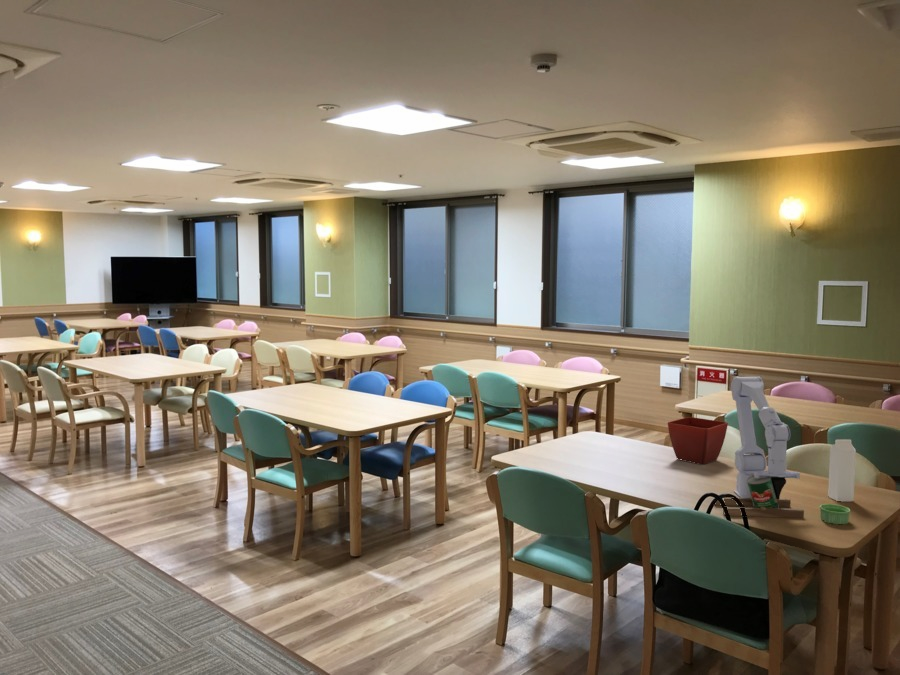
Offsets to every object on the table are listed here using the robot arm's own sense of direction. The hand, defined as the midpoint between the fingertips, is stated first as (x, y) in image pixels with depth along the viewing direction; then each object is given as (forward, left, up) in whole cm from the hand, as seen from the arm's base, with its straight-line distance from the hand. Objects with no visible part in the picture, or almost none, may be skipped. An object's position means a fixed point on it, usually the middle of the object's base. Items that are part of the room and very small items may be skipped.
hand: (776, 498), depth 247 cm
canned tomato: (0, -3, -4) cm, 5 cm away
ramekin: (+8, +16, -5) cm, 18 cm away
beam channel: (-1, -6, -5) cm, 8 cm away
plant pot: (-69, -8, -5) cm, 70 cm away
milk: (-16, +29, -5) cm, 34 cm away
